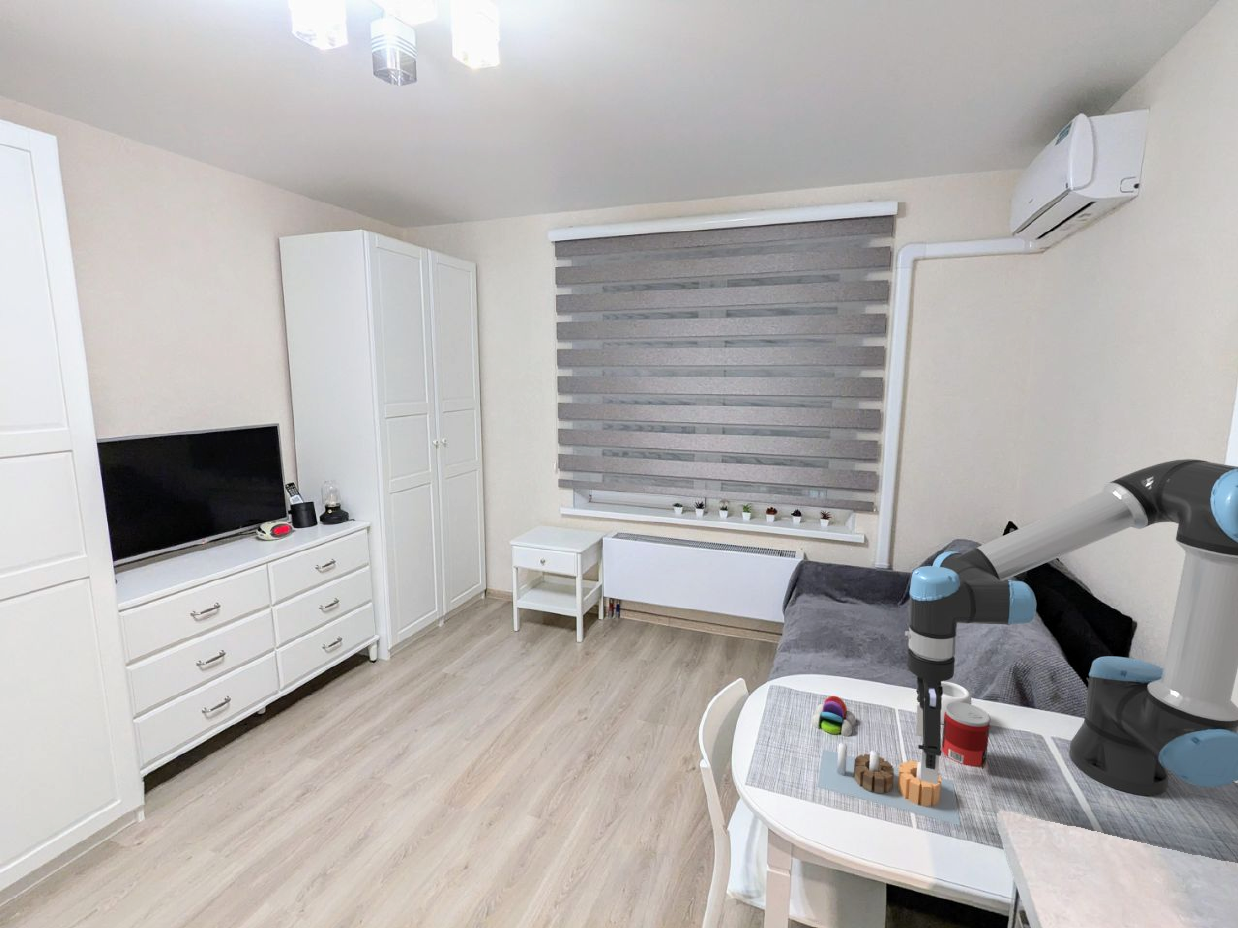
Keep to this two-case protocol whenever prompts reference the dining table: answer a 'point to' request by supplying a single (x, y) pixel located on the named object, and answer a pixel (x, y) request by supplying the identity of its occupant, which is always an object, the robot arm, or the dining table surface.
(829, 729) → the multicolored petal toy
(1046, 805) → the dining table surface
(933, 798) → the gear
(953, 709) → the canned food
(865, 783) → the gear
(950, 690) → the mug
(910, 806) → the gear board
